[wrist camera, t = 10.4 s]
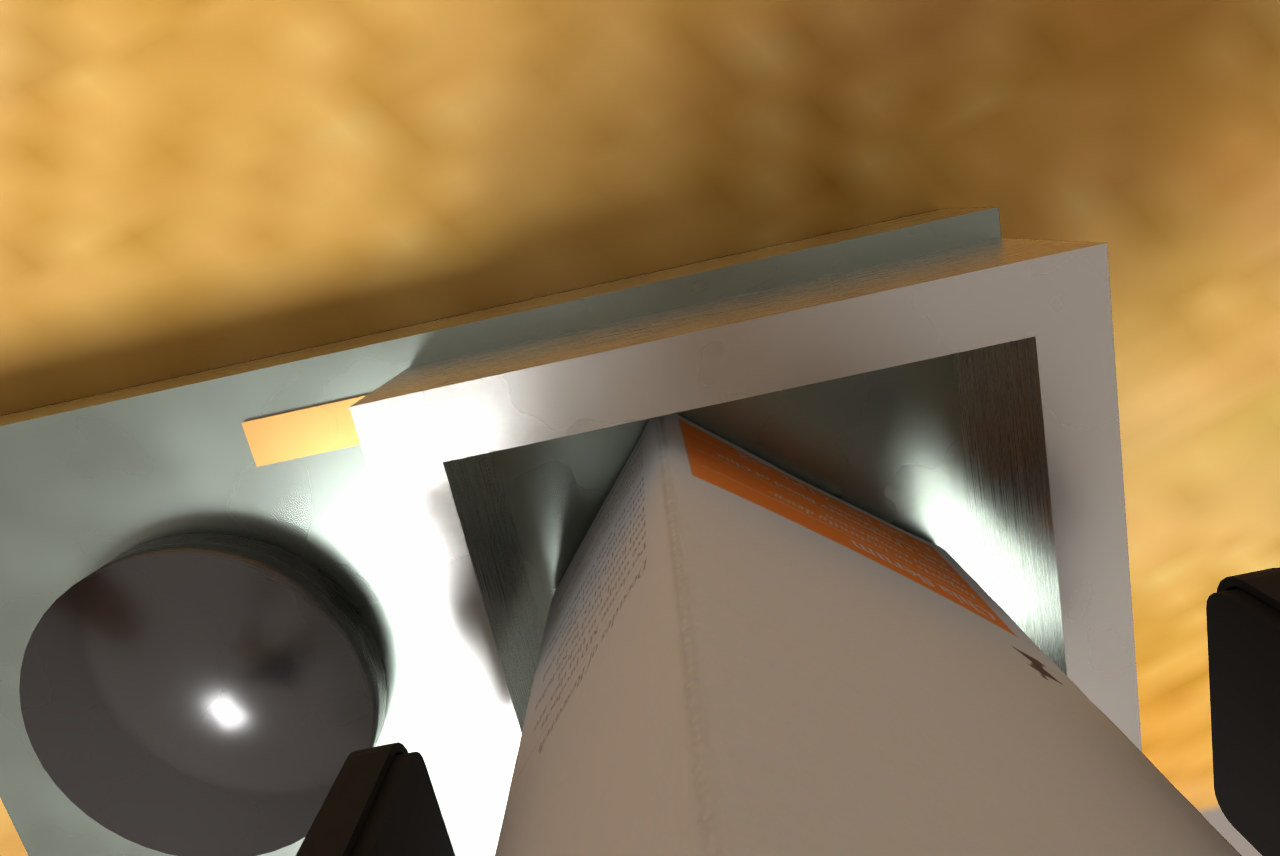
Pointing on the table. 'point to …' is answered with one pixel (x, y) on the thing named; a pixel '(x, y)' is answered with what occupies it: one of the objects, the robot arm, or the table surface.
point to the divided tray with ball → (516, 517)
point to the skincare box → (805, 691)
